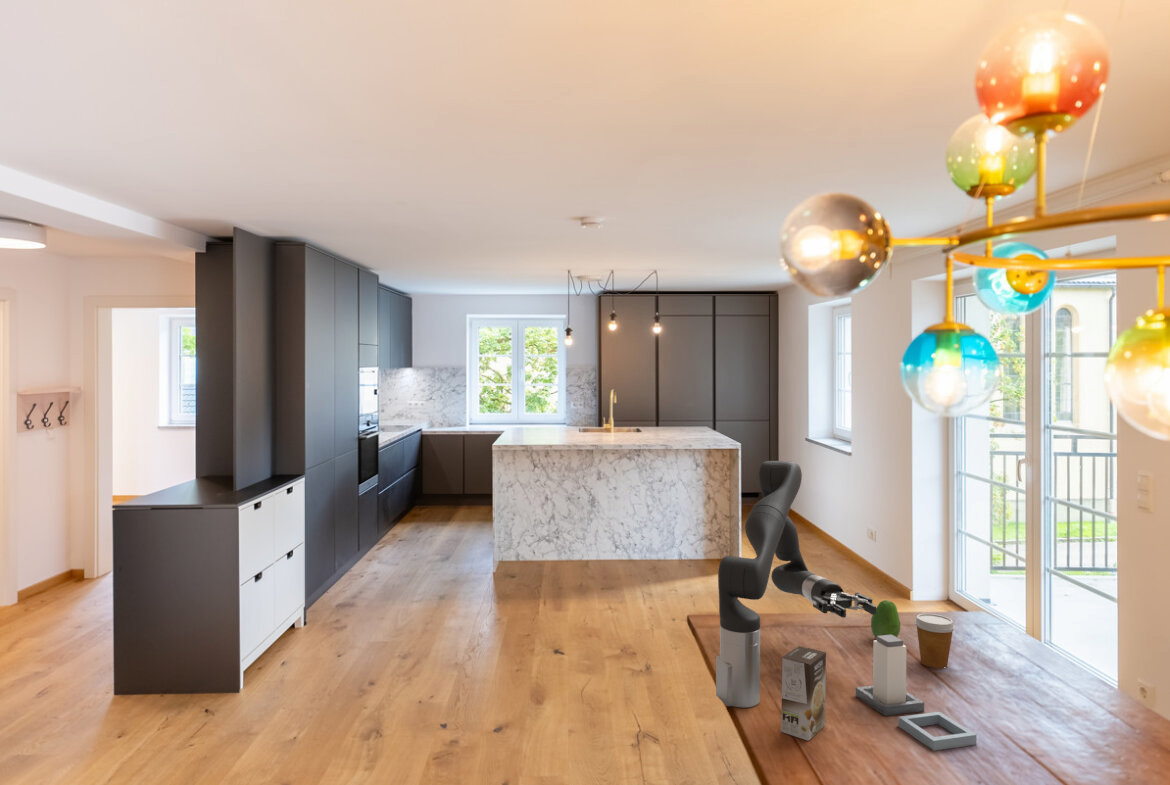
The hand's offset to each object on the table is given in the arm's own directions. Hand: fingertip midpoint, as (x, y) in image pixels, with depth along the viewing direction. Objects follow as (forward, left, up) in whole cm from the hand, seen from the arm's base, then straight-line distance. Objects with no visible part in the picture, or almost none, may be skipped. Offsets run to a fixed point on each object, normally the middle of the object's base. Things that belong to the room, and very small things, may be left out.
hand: (860, 612), depth 172 cm
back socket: (0, -11, -18) cm, 21 cm away
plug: (0, -11, -18) cm, 21 cm away
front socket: (0, -26, -18) cm, 32 cm away
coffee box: (-26, -17, -18) cm, 36 cm away
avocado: (+25, +23, -18) cm, 38 cm away
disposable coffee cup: (+27, +6, -18) cm, 33 cm away
